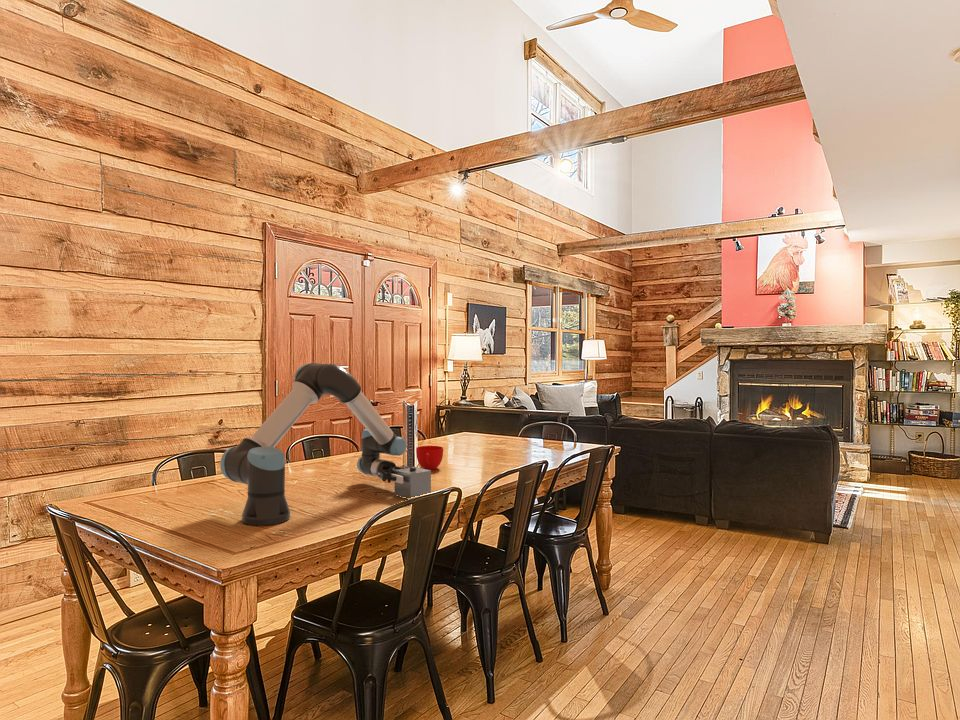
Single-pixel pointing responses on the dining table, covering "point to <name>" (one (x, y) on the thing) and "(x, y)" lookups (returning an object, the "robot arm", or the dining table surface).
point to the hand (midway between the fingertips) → (416, 477)
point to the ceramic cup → (429, 456)
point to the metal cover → (413, 482)
